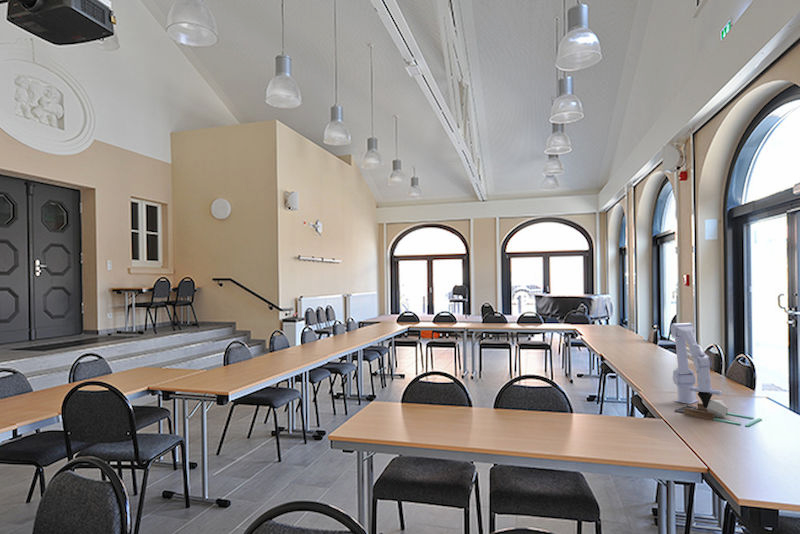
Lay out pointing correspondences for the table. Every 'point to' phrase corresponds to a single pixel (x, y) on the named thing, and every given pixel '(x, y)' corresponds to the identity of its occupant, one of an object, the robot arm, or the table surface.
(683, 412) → the grey flat rectangular tray
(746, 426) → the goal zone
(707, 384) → the robot arm
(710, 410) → the die
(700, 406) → the channel
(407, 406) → the table surface
